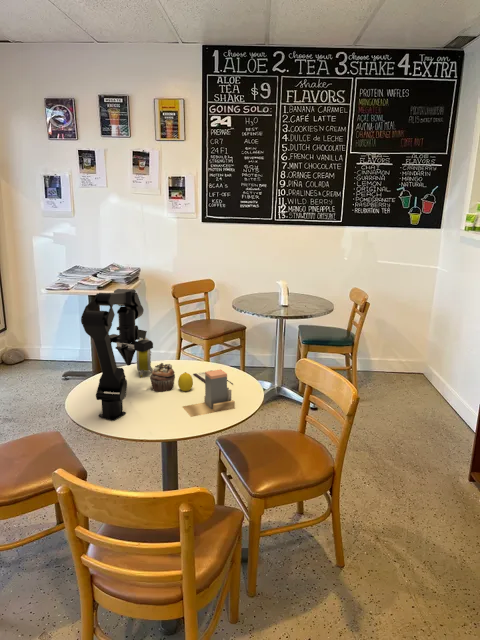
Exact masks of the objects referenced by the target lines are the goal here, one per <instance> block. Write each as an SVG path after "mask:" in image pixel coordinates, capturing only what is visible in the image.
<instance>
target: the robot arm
mask: <svg viewBox="0 0 480 640" xmlns="http://www.w3.org/2000/svg"><path fill="white" fill-rule="evenodd" d="M114 305H116V306H118V307H119V308H118V309H117V311H116V313H115V311H114V308H113V306H114ZM100 306H101V307H102V306H103V307H107V306H108V307H109V310H108V311H107V310H97V309H99V307H100ZM116 314H117V315H118V316H117V317H118V326H116V331H118V332H119V333H118V334H115V333H112V334H110V330H111V329H112V325H113V321H114V320H115V319H114V318H115V316H116ZM143 314H144V307H143V305H142V303H141V301H140V297H139V294H138V293H137V292H136V289H134V288H129V289H128V288H116V289H115V290H114V291H113V292H99V293H96V294H95V296H94V298H93V299H92V301H90V302H89V303H88V304H87V305H86V306H85V307H84V310H83V311H82V313H81V317H80V322H81V325H82V327H83V330H84V332H85V333H86V334H87V335H88V336H89V337H90V338H92V341H93V344H94V348H95V350H96V355H97V358H98V362H99V366H100V370H101V376H100V378H99V379H98V381H99V382H98V386H97V390H96V392H95V393H96V394H95V398H96V400H97V401H99V400H100V401H101V413H100V414H98V417H99V418H101V419H106V420H108V421H115V420H117V419H119V418H121V417H122V416H124V415H126V414H127V412H126V411H123V409H124V407H123V400H124V399H125V398H126V397H127V390H128V381H127V378H126V377H127V376H126V374H125V370H124V368H123V367H117V366H118V365H117V362H116V358H115V355H114V349H113V346H112V343H115V344H116V346H115V350H117V352H118V353H119V354H120V355H121V357H122V359H123V361H124V363H125V364H126V365H127V366H131V364H132V361H133V359H134V355H135V353H136V352H137V351H140V352H144V351H147V350H149V349H150V350H151V349H154V342H153V341H152V340H150V339H148V340H145V338H147V332H148V331H147V330H144V329H140V328H139V326H138V325H137V324H136V320H137V319H139V318H140V317H141V316H143ZM140 338H143V340H140V341H138V340H139V339H140Z"/></svg>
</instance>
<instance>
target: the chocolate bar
mask: <svg viewBox="0 0 480 640" xmlns="http://www.w3.org/2000/svg"><path fill="white" fill-rule="evenodd" d="M208 371H209V370H207V371H206V370H205V371H202V372H201V371H200V372H196V373H193V374H192V375H193V377H195V378H197V379H198V380H199V381H200V382H202V383H203V384H205V372H208ZM210 371H213V370H210ZM227 383H229V384H231V385H232V386H234V383H233V382H231V381H230V380H228V379H227Z"/></svg>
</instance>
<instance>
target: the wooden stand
mask: <svg viewBox="0 0 480 640" xmlns="http://www.w3.org/2000/svg"><path fill="white" fill-rule="evenodd" d="M203 398H204V402H200V403H195V404H189V405H183V406H181V408H183V409H184V411H185V412H186V414H188V415H189V416H190V418H192V417H193V418H194V417H199V416H202V415H203V416H204V415H208V414H213V413H218V412H224V411H229V410H233V409H236V407H235V406H236V405H235V404H236V403H235V400H232V389H229V387H228V386H227V402H221V403H216V404H213V409H210V408H209V407H208V406H207V405H206V404H205V395H204V397H203Z"/></svg>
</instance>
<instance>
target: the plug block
mask: <svg viewBox="0 0 480 640" xmlns="http://www.w3.org/2000/svg"><path fill="white" fill-rule="evenodd" d="M207 371H208V372H206V371H204V372H205V383H204V384H205V385H204V386H205V387H204V389H205V394H204V396H205V404H206V405H207V406H208V407H209V408H210V409H213V404H216V403H221V402H227V387H228V381H227V380H228V373H227V372H225V371H223V370H222V369H215V370H212V371H211V370H207Z"/></svg>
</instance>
